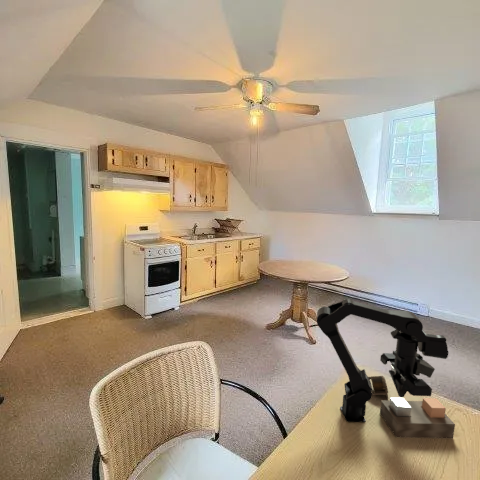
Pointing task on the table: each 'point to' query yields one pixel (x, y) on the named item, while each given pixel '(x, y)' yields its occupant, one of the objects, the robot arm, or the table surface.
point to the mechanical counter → (379, 385)
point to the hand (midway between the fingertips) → (400, 396)
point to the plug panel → (417, 423)
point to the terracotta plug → (433, 408)
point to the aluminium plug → (400, 407)
